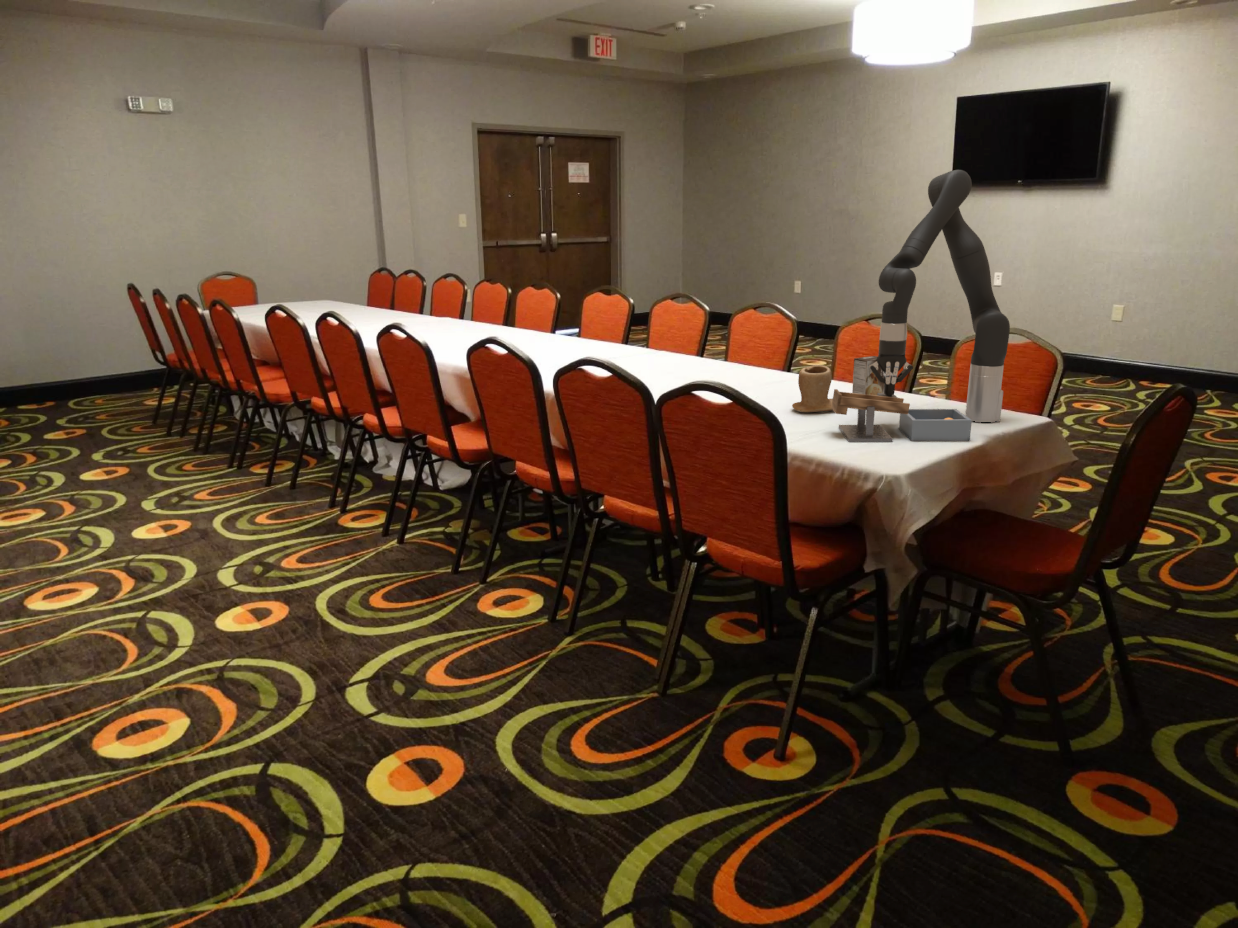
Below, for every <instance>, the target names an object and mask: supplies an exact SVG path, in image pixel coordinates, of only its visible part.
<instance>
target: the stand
mask: <svg viewBox="0 0 1238 928" xmlns="http://www.w3.org/2000/svg"><path fill="white" fill-rule="evenodd" d="M875 412H876V411H875V407H874V406H867V409H866V410H861V409H857V421H856V423H857V424H838V429H839V431H840V432H841V433H842V435H843V436H844V437H845V439H846V440H847V441H848V442H849V443H893V437H892V436H891V435H890V434H889V433H888V432H887V431H886V429H884V428H883V427H882V426H881V424H875Z"/></svg>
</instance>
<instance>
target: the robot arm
mask: <svg viewBox="0 0 1238 928" xmlns="http://www.w3.org/2000/svg"><path fill="white" fill-rule="evenodd" d="M972 183H973V182H972V179H971V176H970V175H969V174H968V172H967V171H965V170H963V169H955V170H951V171H948V172H945V173H942V174H939V175H937V176H935V177H934V178H932V179H931V180H930V181H929V184H928V188H927V195H928V199H929V202H930V205H931V207H932V208H931V209H930V210H929V212H928V213H927V214H926V215H925V216H923V218H922V219H921V221H919V222H918V224H917V225H916V226H915V228H914V229H913V230H912V231H911V232H910V234H909V235H908V237H907V239H906V241H905V242H904V244H903V245H902V247H901V249H900V251H899V252H898V253H897V254H896V255H895V256H894V257H893V258H892V259H891V260H890V261H889V262H888V263H887V264H886V265H885V266H884V267H883V268H882V271H881V272H880V274H879V275H878V276H879V277H878V287H879V289H880V290H881V291H882V292H884V293H891V294H895V295H894V296H893V297H894V298H893V300H890V301H886V302H884V303H883V305H882V311H881V323H880V330H879V342H878V343H879V344H878V352H877V353H878V354H877V356H878V357H877V359H876V362H875V363H873V364H870V365H869V368H870V369H871V371H872V372H873V373H874V375H875V376H876V378H877V379H878V380H879V381H880V382H883V383H884V394H885V395H886V396H887V397H892V395H895V393H896V392H895V391H896V390H895V389H896V384H897V383H902V382H903V381H904V380H905V378H906V377H907V376H908V375H909V374H910V373H911V371H912V370H913V369H914V366H913V365H912V364H910V363H909V362H907V357H906V352H907V351H906V350H907V338H908V326H907V325H908V313H909V312H908V310H909V307H910V303H911V302H912V298H913V295H914V293H915V290H916V286H917V278H916V274H915V272H914V271H913V270H912V269H915V268H918V267H920V265H921V264H922V263H923V261H924V260H925V258H926V257H927V255H928V253H929V252H930V250H931V248H932V246H933V244H934V243H935V241H936V240H937V237H938V236H939V235H940V233H941V231H942V233H943V236H944V239H945V243H946V245H947V247H948V251H949V254H950V259H951V261H952V264H953V268H954V271H955V273H956V276H957V280H958V281H959V284H960V285H961V289H962V290H963V293H964V295H965V297H966V300H967V303H968V308H969V311H970V317H971V323H972V328H973V331H974V335H975V336H974V344H973V350H972V354H971V357H970V367H969V377H968V384H967V385H968V387H967V397H966V405H965V414H964V415H965V416H967V417H968V418H969V419H971V420H972V422H973V421H975V422H974V423H981V422H991V423H995V421H997V422H1001V415H1002V407H1003V397H1004V390H1002V384H1003V383H1002V382H1003V375H1004V368H1005V367H1004V366H1005V365H1004V364H1005V359H1006V357H1007V353H1008V346H1009V339H1010V330H1011V326H1010V325H1011V323H1010V321H1009V318H1008V317H1007V316H1006V315H1005V314H1003V312H1001V311H1002V310H1001V309H1000V306H999V305H998V302H997V299H996V298H995V294H994V291H993V286H992V276H991V275H992V274H991V269H990V262H989V259H988V255H987V252H986V250H985V246H984V243H983V242H982V240H981V238H980V237H979V235H978V234H977V233H976V232H975V231H974V230H973V229H972V228H971V227H970V226H969V224H968V223H967V222H966V221H965V219H964V217H963V215H962V212H961V209H960V207H961V205H962V204H963V203H964V201H966V200H967V197H968V196H969V195H970V194H971V190H972V187H973V185H972ZM878 365H879V366H880V368H881V369H882V371H883V374H884V378H883V377H882V376H881V375H880V374H879V372H878V371H877V370H878ZM901 369H902V371H901V372H900V373H899V371H900V370H901Z"/></svg>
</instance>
